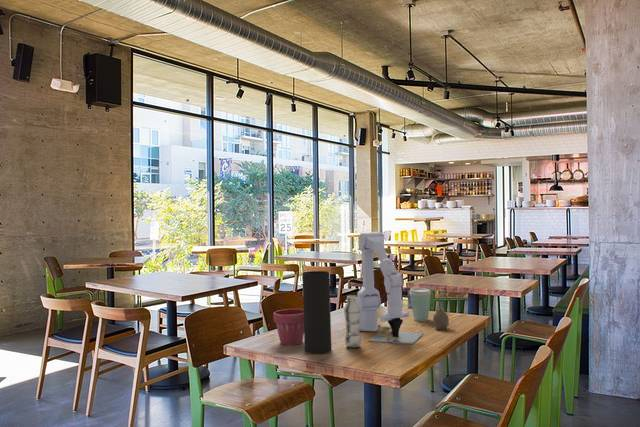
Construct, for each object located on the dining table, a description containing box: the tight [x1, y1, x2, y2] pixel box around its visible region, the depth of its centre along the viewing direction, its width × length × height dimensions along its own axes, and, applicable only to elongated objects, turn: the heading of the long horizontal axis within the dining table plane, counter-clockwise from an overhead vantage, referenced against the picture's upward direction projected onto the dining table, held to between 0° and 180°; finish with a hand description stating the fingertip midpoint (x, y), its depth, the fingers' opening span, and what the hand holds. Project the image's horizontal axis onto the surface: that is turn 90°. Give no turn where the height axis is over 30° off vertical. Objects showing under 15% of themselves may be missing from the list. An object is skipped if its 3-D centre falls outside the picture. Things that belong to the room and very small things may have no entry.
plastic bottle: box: [343, 294, 362, 349], centre depth 210 cm, size 6×7×20 cm
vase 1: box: [302, 270, 332, 355], centre depth 206 cm, size 10×10×30 cm
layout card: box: [368, 331, 424, 345], centre depth 223 cm, size 18×19×1 cm
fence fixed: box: [377, 324, 391, 335], centre depth 227 cm, size 9×2×5 cm, turn 66°
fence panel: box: [386, 329, 393, 340], centre depth 220 cm, size 9×1×4 cm, turn 152°
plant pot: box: [272, 308, 304, 346], centre depth 220 cm, size 14×14×13 cm
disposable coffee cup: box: [408, 287, 432, 322], centre depth 258 cm, size 11×11×15 cm
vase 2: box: [432, 308, 450, 331], centre depth 238 cm, size 7×7×9 cm
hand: (395, 337), depth 218 cm, fingers closed
